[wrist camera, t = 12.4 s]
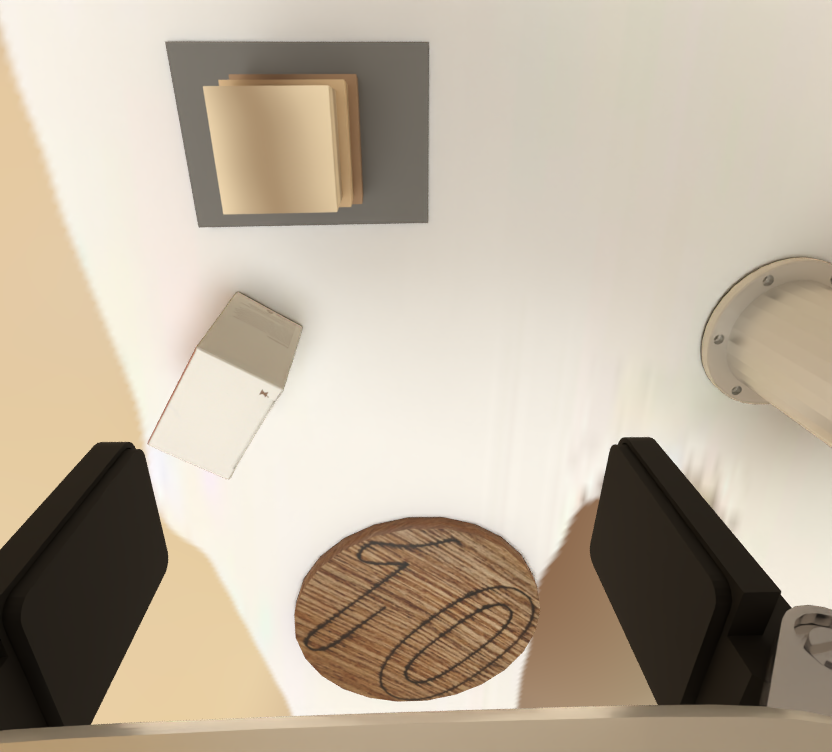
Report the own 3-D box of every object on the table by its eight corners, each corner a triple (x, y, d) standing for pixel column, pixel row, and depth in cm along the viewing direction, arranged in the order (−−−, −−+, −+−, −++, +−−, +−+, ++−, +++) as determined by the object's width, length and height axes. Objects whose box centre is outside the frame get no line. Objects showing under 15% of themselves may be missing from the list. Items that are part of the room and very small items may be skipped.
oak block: (347, 84, 30) (343, 79, 26) (353, 195, 33) (351, 207, 29) (239, 84, 30) (218, 79, 26) (254, 197, 32) (237, 209, 28)
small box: (237, 289, 40) (196, 343, 30) (305, 326, 41) (285, 388, 32) (193, 372, 42) (142, 446, 33) (258, 404, 44) (228, 483, 35)
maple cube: (335, 90, 26) (328, 85, 22) (342, 196, 28) (337, 212, 24) (232, 91, 26) (202, 86, 22) (246, 198, 28) (223, 214, 24)
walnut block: (357, 78, 34) (355, 74, 30) (363, 194, 37) (362, 204, 33) (245, 79, 34) (228, 74, 30) (260, 196, 37) (246, 206, 33)
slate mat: (428, 42, 34) (428, 42, 33) (427, 221, 39) (428, 222, 38) (167, 42, 33) (165, 41, 32) (200, 226, 38) (198, 227, 37)
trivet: (248, 627, 56) (244, 643, 54) (403, 470, 48) (404, 483, 47) (428, 712, 64) (429, 728, 62) (583, 588, 57) (589, 603, 55)
